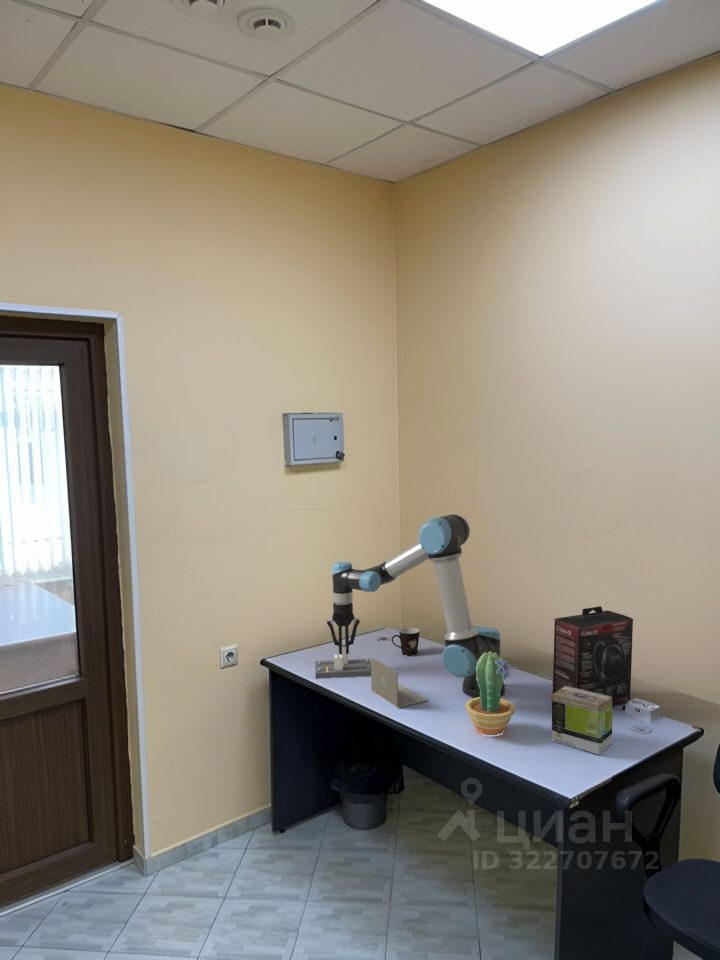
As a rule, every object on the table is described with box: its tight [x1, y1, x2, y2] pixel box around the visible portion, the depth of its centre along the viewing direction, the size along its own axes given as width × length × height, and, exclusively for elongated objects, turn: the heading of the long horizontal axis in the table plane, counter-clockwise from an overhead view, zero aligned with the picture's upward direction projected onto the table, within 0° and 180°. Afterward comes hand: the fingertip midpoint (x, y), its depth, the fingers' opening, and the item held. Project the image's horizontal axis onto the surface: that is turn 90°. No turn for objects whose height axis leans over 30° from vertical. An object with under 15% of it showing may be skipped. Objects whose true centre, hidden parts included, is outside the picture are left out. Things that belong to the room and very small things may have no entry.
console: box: [314, 658, 371, 679], centre depth 273 cm, size 14×22×2 cm, turn 94°
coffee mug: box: [391, 627, 421, 657], centre depth 292 cm, size 12×9×10 cm
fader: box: [333, 653, 343, 671], centre depth 269 cm, size 4×3×5 cm
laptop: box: [370, 657, 428, 709], centre depth 246 cm, size 18×12×13 cm
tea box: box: [551, 686, 613, 755], centre depth 208 cm, size 15×10×15 cm
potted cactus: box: [464, 651, 516, 735], centre depth 216 cm, size 16×15×25 cm
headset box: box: [552, 605, 634, 706], centre depth 236 cm, size 24×13×33 cm, turn 115°
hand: (344, 662), depth 270 cm, fingers closed
